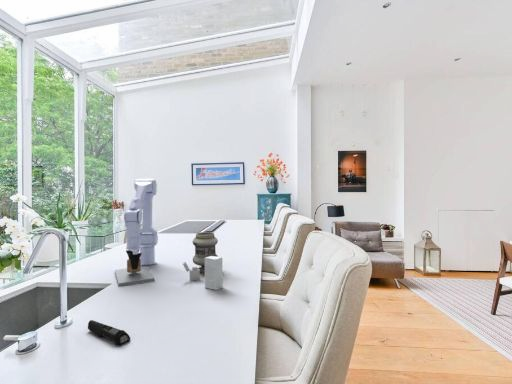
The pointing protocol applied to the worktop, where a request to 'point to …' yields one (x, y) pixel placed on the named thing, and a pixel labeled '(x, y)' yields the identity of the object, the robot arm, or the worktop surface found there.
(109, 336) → the electric trimmer
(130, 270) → the walnut bead
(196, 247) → the apothecary jar
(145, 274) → the grey peg base
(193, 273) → the lighter
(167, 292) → the worktop surface
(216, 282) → the skincare box
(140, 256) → the robot arm
